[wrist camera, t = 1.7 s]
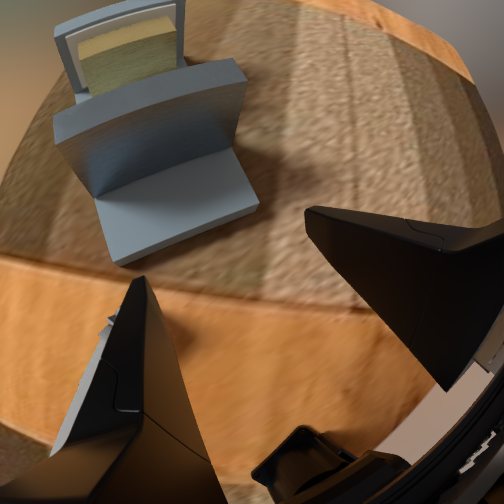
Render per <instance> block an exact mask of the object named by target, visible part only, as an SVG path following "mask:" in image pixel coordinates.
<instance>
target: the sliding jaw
mask: <svg viewBox="0 0 504 504" xmlns="http://www.w3.org/2000/svg"><path fill="white" fill-rule="evenodd" d="M247 83H248V79H247V78H246V77H245V75H244V74H243V72H242V71H241V69H240V68H239V66H238V65H237V64H236V62H235V61H234V59H233V58H229V59H223V60H218V61H212V62H207V63H203V64H198V65H193V66H189V67H185V68H181V69H177V70H173V71H169V72H166V73H162V74H158V75H155V76H152V77H148V78H145V79H142V80H139V81H136V82H133V83H130V84H127V85H124V86H121V87H118V88H116V89H113V90H110V91H108V92H105V93H103V94H100V95H98V96H95V97H93V98H90V99H88V100H86V101H83V102H81V103H79V104H77V105H74V106H72V107H70V108H68V109H66V110H64V111H62V112H60V113H58V114H56V115H54V116H53V124H54V137H55V145H56V147H57V148H58V150H59V151H60V153H61V154H62V156H63V157H64V158H65V160H66V161H67V163H68V164H69V166H70V167H71V168H72V170H73V171H74V173H75V174H76V175H77V177H78V178H79V180H80V181H81V182H82V184H83V185H84V186H85V188H86V189H87V190H88V192H89V193H90V194H91V196H92V197H93V198H96V197H98V196H100V195H103V194H105V193H107V192H109V191H112V190H114V189H116V188H119V187H121V186H123V185H126V184H128V183H131V182H133V181H136V180H138V179H141V178H143V177H146V176H148V175H151V174H153V173H156V172H159V171H161V170H164V169H167V168H169V167H172V166H175V165H178V164H180V163H183V162H186V161H189V160H192V159H195V158H198V157H201V156H204V155H207V154H210V153H213V152H216V151H220V150H223V149H226V148H229V147H232V145H233V141H234V136H235V132H236V128H237V124H238V120H239V115H240V111H241V107H242V103H243V99H244V95H245V91H246V87H247Z"/></svg>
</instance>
